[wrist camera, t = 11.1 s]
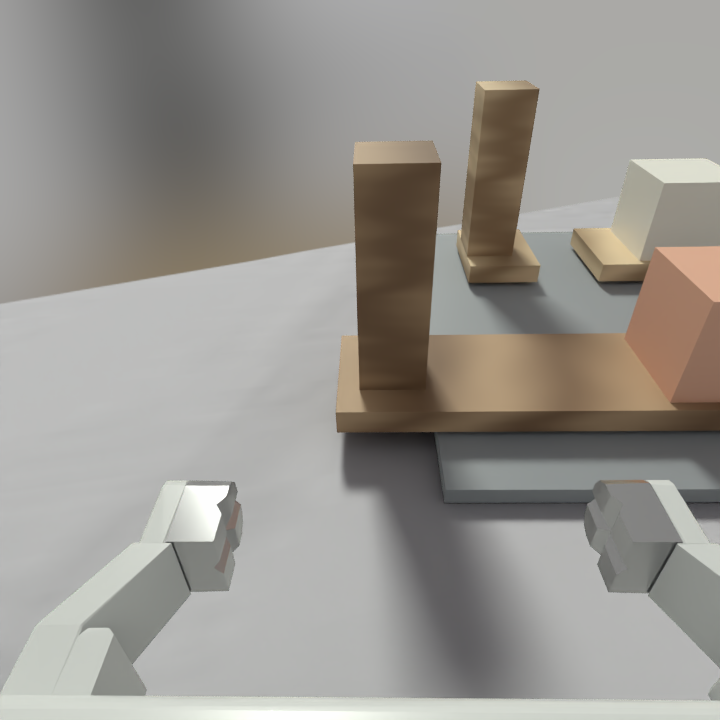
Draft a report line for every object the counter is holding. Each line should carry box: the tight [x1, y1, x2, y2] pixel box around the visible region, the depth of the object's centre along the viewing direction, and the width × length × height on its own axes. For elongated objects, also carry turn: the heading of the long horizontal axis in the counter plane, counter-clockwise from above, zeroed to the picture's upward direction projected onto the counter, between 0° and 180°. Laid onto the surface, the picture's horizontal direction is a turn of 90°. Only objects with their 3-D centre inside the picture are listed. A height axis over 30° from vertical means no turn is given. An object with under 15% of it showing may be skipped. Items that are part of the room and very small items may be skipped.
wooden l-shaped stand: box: [336, 141, 720, 432], centre depth 22 cm, size 20×6×11 cm, turn 89°
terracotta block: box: [624, 246, 720, 403], centre depth 23 cm, size 5×5×5 cm
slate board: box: [429, 232, 720, 503], centre depth 31 cm, size 23×26×1 cm
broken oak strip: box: [456, 81, 650, 283], centre depth 33 cm, size 18×6×11 cm, turn 89°
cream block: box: [611, 158, 720, 261], centre depth 34 cm, size 5×5×5 cm
